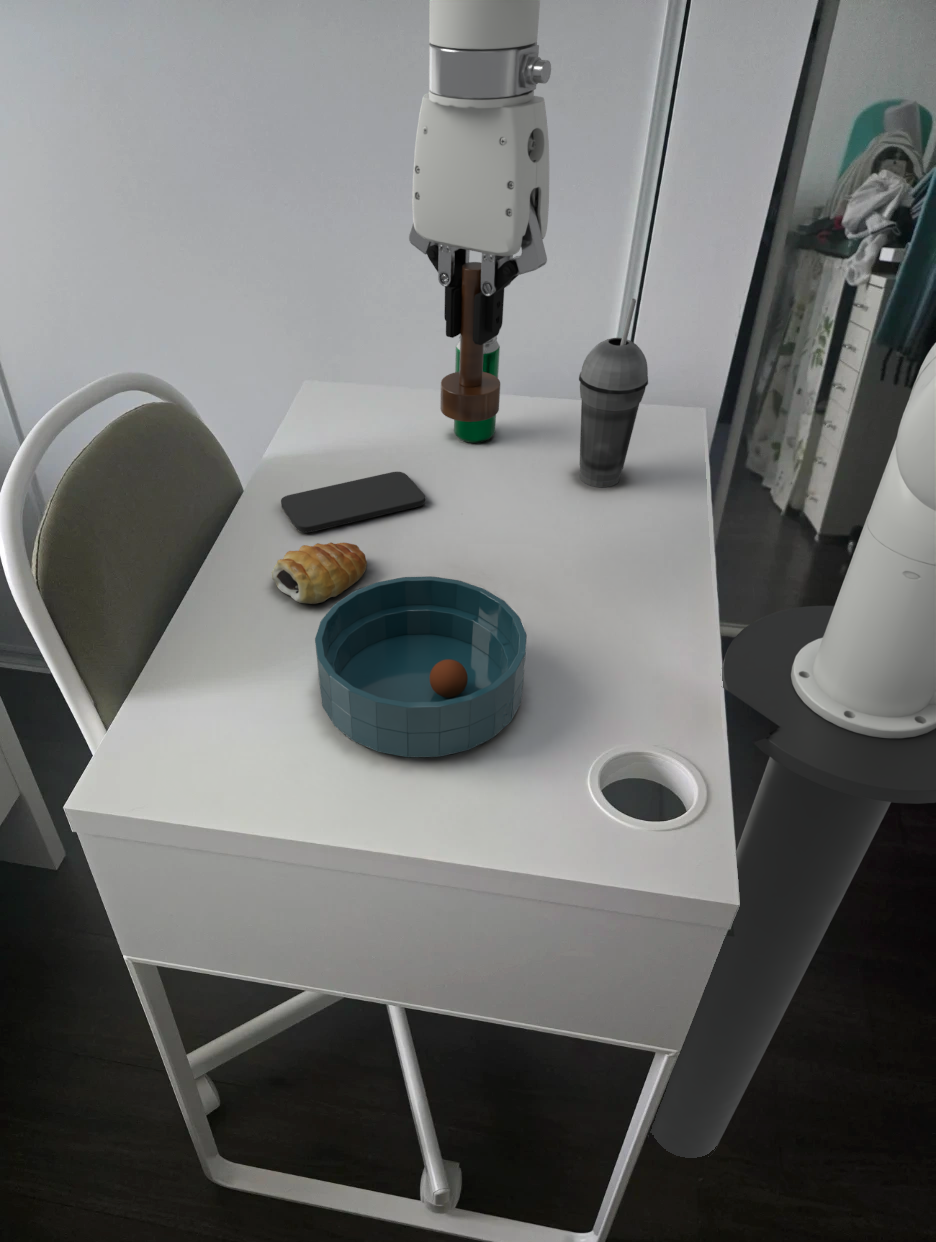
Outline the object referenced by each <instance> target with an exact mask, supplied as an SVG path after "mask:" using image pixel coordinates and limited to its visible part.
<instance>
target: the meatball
mask: <svg viewBox="0 0 936 1242" xmlns="http://www.w3.org/2000/svg"><path fill="white" fill-rule="evenodd" d="M467 681H468V676H467V672H466V670H465V668H464V667H463V665H462V664H460V663H459V662H457V661H455V660H450V659H448V660H442V661H440V662H438V663H437V664H436V665H435V666H434V667H433V668H432V670H431V673H430V684H431V687H432V689H433V690H434V691H435V692H436V693H437V694H438V695H440V696H442V697H447V698H450V697H455V696H457V695H459V694H460V693H462V692H463V690H464V689H465V687H466V685H467Z"/></svg>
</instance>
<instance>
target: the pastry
mask: <svg viewBox="0 0 936 1242" xmlns="http://www.w3.org/2000/svg"><path fill="white" fill-rule="evenodd" d="M367 566H368V561H367V557H366V554H365V553H364V552H363V551H362V550H361V549H360V547H359V546H358V545H357V544H354V543H349V542H337V543H334V542H330V541H329V542H328V543H325V544H324V543H315V544H314V545H308V544H304V545H302V546H300V547H299V549H298V550H288V551H287V552H286V553H285V554H284V556H283V557H282V558H279V559H278V560H277V561H276V563H275V565H274V566H273V569H272V571H271V579H272V580H273V581H274V583H275V584H276V587H277V589H278V590H279V591H280V592H282V593H284V594H286V595H287V596H289V597H291V599H293V600H294V601H295V602H297V603H300V604H309V605H317V604H320V603H325V602H326V600H328V599H330V598H332V597H333V598H335V597H337V596H338V595H340V594H341V595H342V593H343V592H344V591H345V590H348V589H349V588H350V587H351V586H353V585H354V584H355V583H357V582H358V581H359V580H360V579H361V578H362V577H363V575H364V574H365V572H366V570H367Z"/></svg>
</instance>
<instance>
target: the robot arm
mask: <svg viewBox="0 0 936 1242" xmlns="http://www.w3.org/2000/svg"><path fill="white" fill-rule="evenodd" d="M428 3H429V6H428V9H429V10H428V11H429V13H428V14H429V15H428V17H429V19H428V20H429V21H428V24H429V26H428V27H429V31H428V32H429V33H428V34H429V37H428V39H429V44H428V92H426V93H424V94H423V95H422V98H421V99H422V100H421V104H420V110H419V115H418V121H417V127H416V136H415V143H414V154H413V155H414V156H413V171H412V196H411V199H412V204H411V205H412V226H411V227H410V231H409V234H408V241H409V243H410V244H411V245H412V246H414V247H415V248H416V249H417V250H419V251H420V252H421V253H422V254H424V255H427V258H428V260H429V262H431V264H432V266H433V267H434V269H435V270H436V272H437V277H438V282H439V284H440V285H441V286H442V287H444V320H445V336H446V337H448V338H451V339H454V338H455V337H457V336H460V330H461V293H462V266H463V265H464V264H465V263H469V262H470V252H471V251H472V252H476V253H481V262H480V263H481V292H480V293H478V294H476V295H475V298H474V318H473V342H474V343H475V344H478V345H482V344H484V343H486V342H487V341H489V340H491V339H492V338H494V337H495V336H497V337H498V335H499V334H500V330H501V329H502V326H503V322H504V321H503V320H504V301H505V288H507V287H508V286H510V285H511V283H512V282H513V281H514V280H515V279H516V278H517V277H518V276H519V275H523V274H527V273H531V272H534V271H536V270H538V269H540V268H542V267H544V266H545V265H546V264H547V262H548V256H547V253H546V249H545V245H544V244H545V243H544V241H543V240H544V239H545V237H546V234H547V230H548V223H549V210H550V209H549V206H550V140H549V129H548V127H549V126H548V120H547V119H548V118H547V110H546V102H545V98H544V97H543V96H538V95H535V90H537V85H538V84H543V85H544V84H545V85H546V84H547V83H548V82H549V80H550V78H551V74H552V64H551V61H550V60H549V59H542V58H541V57H540V56H539V53H540V52H539V50H540V45H539V44H538V34H539V21H540V7H541V0H429V2H428ZM520 250H521V254H520V255H516V254H518V253H519V251H520ZM514 255H516V256H514ZM863 524H864V525H863V528H862V530H861V532H860V536H859V538H858V540H857V544H856V547H855V549H854V552H853V555H852V557H851V560H850V562H849V566H848V568H847V571H846V574H845V576H844V579H843V582H842V585H841V587H840V590H839V593H838V596H837V599H836V600H835V604H834V605H833V606H834V609H833V612H832V614H831V617H830V620H829V623H828V625H827V628H826V631H825V634H824V636H823V638H820V639H817V640H815V641H813V642H810V643H808V644H807V645H806V646H804V647H803V648H802V649H801V650H800V651H799V653H798V654H797V655H796V657H795V660H794V663H793V666H792V671H791V679H792V684H793V686H794V688H795V690H796V693H797V694H798V695H799V697H800V698H801V699H802V701H803V702H804V703H805V704H806V705H807V706H808V707H809V708H811V709H812V710H813V711H814V712H815V713H817V714H818V715H820V716H821V717H823V718H824V719H825V720H827V721H829V722H831V723H833V724H835V725H837V726H839V727H842V728H844V729H847V730H850V731H852V732H855V733H859V734H863V735H867V736H872V737H880V738H908V737H915V736H919V735H922V734H925V733H928V732H930V731H931V730H933V729H935V728H936V342H935V343H933V345H932V346H931V348H930V350H929V351H928V352H927V354H926V356H925V358H924V360H923V362H922V364H921V366H920V369H919V370H918V373H917V376H916V379H915V381H914V383H913V386H912V388H911V392H910V395H909V398H908V401H907V404H906V406H905V409H904V411H903V413H902V417H901V419H900V423H899V426H898V430H897V435H896V438H895V441H894V444H893V446H892V450H891V452H890V455H889V458H888V460H887V463H886V465H885V468H884V470H883V474H882V476H881V479H880V481H879V485H878V487H877V490H876V493H875V496H874V498H873V501H872V504H871V507H870V509H869V512H868V514H867V517H866V519H865V522H864V523H863Z"/></svg>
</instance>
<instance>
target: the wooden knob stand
mask: <svg viewBox="0 0 936 1242" xmlns="http://www.w3.org/2000/svg"><path fill="white" fill-rule="evenodd" d="M481 263H482V262H480V261H469V263H465V264H464V265H463V266H462V293H461V330H460V334H459V337H460V367H459V372H455V371H454V372H452V373H449V374H448V375H445V376H444V377H443V378H442V379H441V381H440V400H439V401H440V403H439V404H440V405H439V406H440V407H439V408H440V409H439V410H440V412H441V413H442V414H443V415H444V416H445V417H446V418H448V419H451V420H453V421H454V420H458V421H464V422H476V421H483V420H487V419H489V418H492V417H493V416H495V415H496V416H497V414H498V413H499V411H500V401H501V400H500V399H501V381H500V379H499V377H498V378H497V377H495V376H494V375H492V374H489V373H486V372H483V350H484V344H482V345H478V344H475V343H474V342H473V318H474V298H475V295H476V294H478V293H480V292H481Z"/></svg>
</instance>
